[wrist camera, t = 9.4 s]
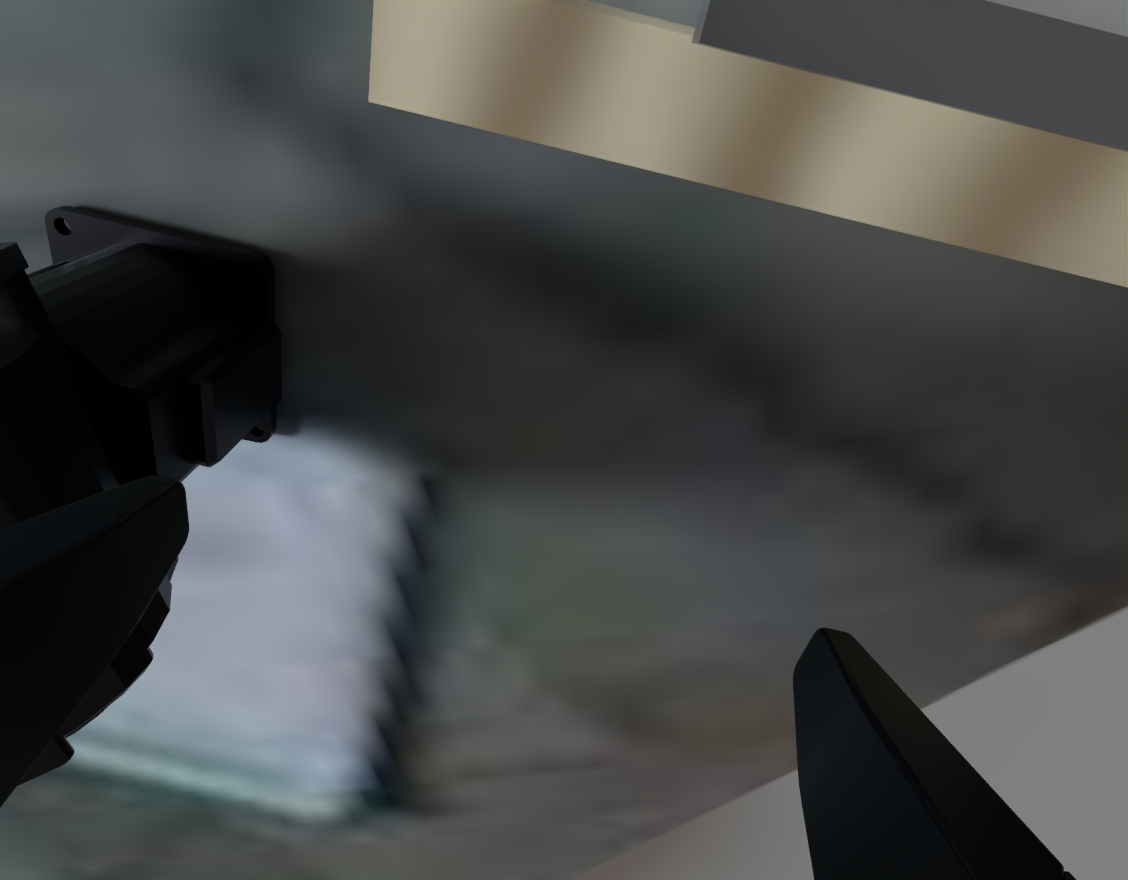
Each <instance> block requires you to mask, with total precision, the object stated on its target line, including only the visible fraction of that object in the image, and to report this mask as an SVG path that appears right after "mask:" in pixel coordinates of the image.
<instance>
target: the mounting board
mask: <svg viewBox="0 0 1128 880" xmlns="http://www.w3.org/2000/svg"><path fill="white" fill-rule="evenodd" d="M692 38H693V37H692V36H688V35H684V34H680V33H676V32H672V31H668V30H664V29H660V28H656V27H652V26H648V25H644V24H640V23H636V22H633V21H629V20H625V19H621V18H617V17H613V16H609V15H605V14H601V13H597V12H593V11H589V10H585V9H581V8H577V7H573V6H569V5H565V4H561V3H557V2H553V1H549V0H374V7H373V26H372V45H371V64H370V82H369V101H368V102H372V103H376V104H380V105H384V106H388V107H392V108H396V109H400V110H404V111H409V112H413V113H417V114H421V115H425V116H429V117H433V118H437V119H441V120H445V121H449V122H454V123H458V124H462V125H466V126H470V127H474V128H478V129H482V130H486V131H490V132H494V133H498V134H503V135H507V136H511V137H515V138H519V139H523V140H527V141H531V142H535V143H539V144H543V145H547V146H552V147H556V148H560V149H564V150H568V151H572V152H576V153H580V154H584V155H588V156H592V157H596V158H601V159H605V160H609V161H613V162H617V163H621V164H625V165H629V166H633V167H637V168H641V169H646V170H650V171H654V172H658V173H662V174H666V175H670V176H674V177H678V178H682V179H686V180H690V181H695V182H699V183H703V184H707V185H711V186H715V187H719V188H723V189H727V190H731V191H735V192H739V193H744V194H748V195H752V196H756V197H760V198H764V199H768V200H772V201H776V202H780V203H784V204H788V205H793V206H797V207H801V208H805V209H809V210H813V211H817V212H821V213H825V214H829V215H833V216H838V217H842V218H846V219H850V220H854V221H858V222H862V223H866V224H870V225H874V226H878V227H882V228H887V229H891V230H895V231H899V232H903V233H907V234H911V235H915V236H919V237H923V238H927V239H931V240H936V241H940V242H944V243H948V244H952V245H956V246H960V247H964V248H968V249H972V250H976V251H980V252H985V253H989V254H993V255H997V256H1001V257H1005V258H1009V259H1013V260H1017V261H1021V262H1025V263H1030V264H1034V265H1038V266H1042V267H1046V268H1050V269H1054V270H1058V271H1062V272H1066V273H1070V274H1074V275H1079V276H1083V277H1087V278H1091V279H1095V280H1099V281H1103V282H1107V283H1111V284H1115V285H1119V286H1123V287H1128V152H1125V151H1121V150H1117V149H1113V148H1109V147H1105V146H1101V145H1097V144H1093V143H1089V142H1085V141H1081V140H1077V139H1073V138H1069V137H1065V136H1061V135H1057V134H1053V133H1049V132H1045V131H1041V130H1037V129H1033V128H1029V127H1025V126H1021V125H1017V124H1013V123H1010V122H1006V121H1002V120H998V119H994V118H990V117H986V116H982V115H978V114H974V113H970V112H966V111H962V110H958V109H954V108H950V107H946V106H942V105H938V104H934V103H930V102H926V101H922V100H918V99H914V98H910V97H906V96H902V95H898V94H894V93H890V92H886V91H882V90H878V89H874V88H870V87H866V86H862V85H858V84H854V83H850V82H846V81H842V80H838V79H834V78H830V77H826V76H822V75H818V74H814V73H810V72H806V71H802V70H798V69H794V68H790V67H786V66H782V65H778V64H774V63H770V62H766V61H762V60H758V59H754V58H750V57H746V56H742V55H738V54H734V53H730V52H726V51H722V50H718V49H714V48H711V47H707V46H703V45H699V44H695V43H691V42H692Z"/></svg>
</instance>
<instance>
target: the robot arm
mask: <svg viewBox="0 0 1128 880" xmlns="http://www.w3.org/2000/svg"><path fill="white" fill-rule="evenodd" d="M64 219H65V220H66V221H67V222H68V223H69V224H70V226H71V231H70V230H69V229H68V228H67V227H66V226H65V223H64ZM45 224H46V229H47V234H48V240H49V245H50V250H51V255H52V261H53V265H51V266H49V267H46V268H43V269H41V270H38V271H35V272H33V273H30V274H28V275H27V274H26V272H25V270H24V269H26V268H28V267H29V266H28V264H27V262H26V260H25V258H24V256H23V254H22V252H21V250H20V248H19V246H18V245H17V243H16V242H6V243H0V808H1V806H2V805H3V804H4V802H5V801H6V800H7V798H8V797H9V796H10V794H11V793H12V792H13V790H14V789H15V788H16V786H18V785H20V784H22V783H25V782H27V781H29V780H31V779H33V778H36V777H38V776H40V775H42V774H44V773H47V772H49V771H51V770H53V769H55V768H58V767H60V766H62V765H64V764H65V763H66V762H67V761H69V760H70V759H71V757H72V756H73V754H74V749H73V747H72V746H71V745H70V743H69V742H68V741H67V739H66V738H67V737H69V736H70V735H72V734H74V733H75V732H77V731H78V730H80V729H81V728H82V727H84V726H85V725H86V724H88V723H89V722H90V721H92V720H93V719H94V718H96V717H97V716H98V715H99V714H100V713H102V712H103V711H104V710H105V709H106V708H107V707H108V706H109V705H110V704H111V703H113V702H114V701H115V700H116V699H118V698H119V697H120V696H121V695H123V694H124V693H125V692H126V691H127V690H128V689H129V687H130V686H131V685H132V684H133V683H134V682H135V681H136V680H137V679H138V678H139V677H140V676H141V675H142V674H143V673H144V672H145V670H146V669H147V668H148V666H149V665H150V663H151V661H152V660H153V653H152V651H151V649H150V648H149V646H150V645H151V643H152V642H153V640H154V638H155V637H156V635H157V633H158V631H159V629H160V627H161V626H162V624H163V622H164V620H165V618H166V616H167V614H168V613H169V611H170V602H171V590H172V585H171V583H170V580H171V577H172V575H173V572H174V569H175V567H176V564H177V562H178V555H179V553H180V551H181V550H182V548H183V546H184V545H185V543H186V540H187V537H188V533H189V520H188V511H187V501H186V492H185V488H184V486H183V484H182V483H181V482H182V481H183V480H184V479H185V478H186V477H187V476H188V475H189V474H190V473H191V472H192V471H193V470H194V469H195V468H196V467H197V466H198V465H201V466H206V467H211V466H213V465H215V464H216V463H218V462H220V461H221V460H222V459H223V458H224V457H225V456H226V455H227V454H228V453H229V452H230V451H231V450H232V449H233V448H234V447H235V446H236V445H237V443H238V442H239V441H240V440H241V439H244V440H249V441H253V442H260V443H262V442H265V441H267V440H268V439H269V438H270V437H271V436H272V435H273V434H274V433H275V431H276V404H277V403H278V402H279V401H280V400H281V397H282V384H281V331H280V330H279V328H278V326H277V325H276V324H275V307H274V269H273V264H272V263H271V261H270V259H269V258H268V257H267V256H266V255H264V254H263V253H261V252H259V251H256V250H252V249H247V248H243V247H239V246H235V245H231V244H226V243H222V242H218V241H214V240H210V239H205V238H201V237H197V236H193V235H188V234H184V233H180V232H176V231H172V230H167V229H163V228H159V227H155V226H150V225H146V224H142V223H138V222H134V221H129V220H125V219H121V218H117V217H113V216H108V215H104V214H100V213H96V212H91V211H87V210H83V209H79V208H75V207H70V206H62V207H58V208H55V209H52V210H50V211H48V212H47V214H46V216H45ZM249 263H252V264H254V265H255V266H256V267H257V268H258V270H259V276H257V275H255V274H253V273H252V271H251V270H250V268H249ZM256 424H259V425H260V426H261V427H262V428H263V430H260V429H258V428H257V427H256V426H255V425H256ZM793 692H794V710H795V728H796V745H797V763H798V776H799V787H800V794H801V801H802V808H803V814H804V820H805V826H806V832H807V838H808V844H809V850H810V856H811V862H812V868H813V874H814V880H1076V879H1075V878H1074V877H1073V876H1072V875H1071V873H1069V872H1066V871H1064V868H1063V865H1062V864H1061V863H1060V862H1059V861H1058V860H1057V858H1056V857H1055V856H1054V855H1053V854H1052V853H1051V852H1050V851H1049V850H1048V849H1047V848H1046V846H1045V845H1044V844H1043V843H1042V842H1041V841H1040V840H1039V839H1038V838H1037V837H1036V836H1035V835H1034V833H1033V832H1032V831H1031V830H1030V829H1029V828H1028V827H1027V826H1026V825H1025V824H1024V822H1023V821H1022V820H1021V819H1020V818H1019V817H1018V816H1017V815H1016V814H1015V813H1014V812H1013V810H1011V808H1010V807H1009V806H1008V805H1007V804H1006V803H1005V802H1004V801H1003V800H1002V798H1001V797H1000V796H999V795H998V794H997V793H996V792H995V791H994V790H993V789H992V788H991V787H990V786H989V784H988V783H987V782H986V781H985V780H984V779H983V778H982V777H981V776H980V774H979V773H977V771H976V770H975V769H974V768H973V767H972V766H971V765H970V764H969V763H968V761H967V760H966V759H965V758H964V757H963V756H962V755H961V754H960V753H959V752H958V751H957V750H956V748H955V747H954V746H953V745H952V744H951V743H950V742H949V741H948V740H947V739H946V737H945V736H944V735H943V734H942V733H941V732H940V731H939V730H938V729H937V728H936V727H935V725H934V724H933V723H932V722H931V721H930V720H929V719H928V718H927V717H926V716H925V715H924V713H923V712H922V711H921V710H920V709H919V708H918V707H917V706H916V705H915V704H914V703H913V701H912V700H911V699H910V698H909V697H908V696H907V695H906V694H905V693H904V692H903V691H902V689H901V688H900V687H899V686H898V685H897V684H896V683H895V682H894V681H893V680H892V679H891V677H890V676H889V675H888V674H887V673H886V672H885V671H884V670H883V669H882V668H881V667H880V666H879V664H878V663H877V662H876V661H875V660H874V659H873V658H872V657H871V656H870V655H869V654H868V652H867V651H866V650H865V649H864V648H863V647H862V646H861V645H860V644H859V643H858V642H857V640H856V639H855V638H854V637H853V636H852V635H850V634H849V633H846V632H843V631H838V630H834V629H829V628H820V629H818V630H817V631H816V632H815V633H814V635H813V636H812V638H811V640H810V641H809V643H808V645H807V647H806V648H805V650H804V652H803V653H802V655H801V657H800V658H799V660H798V662H797V664H796V666H795V669H794V674H793Z"/></svg>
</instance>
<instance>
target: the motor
mask: <svg viewBox="0 0 1128 880" xmlns="http://www.w3.org/2000/svg"><path fill="white" fill-rule="evenodd" d="M549 1H553V2H557V3H561V4H565V5H569V6H573V7H577V8H581V9H585V10H589V11H593V12H597V13H601V14H605V15H609V16H613V17H617V18H621V19H625V20H629V21H633V22H636V23H640V24H644V25H648V26H652V27H656V28H660V29H664V30H668V31H672V32H676V33H680V34H684V35H688V36H692V37H693V38H692V42H691V43H695V44H699V45H703V46H707V47H711V48H714V49H718V50H722V51H726V52H730V53H734V54H738V55H742V56H746V57H750V58H754V59H758V60H762V61H766V62H770V63H774V64H778V65H782V66H786V67H790V68H794V69H798V70H802V71H806V72H810V73H814V74H818V75H822V76H826V77H830V78H834V79H838V80H842V81H846V82H850V83H854V84H858V85H862V86H866V87H870V88H874V89H878V90H882V91H886V92H890V93H894V94H898V95H902V96H906V97H910V98H914V99H918V100H922V101H926V102H930V103H934V104H938V105H942V106H946V107H950V108H954V109H958V110H962V111H966V112H970V113H974V114H978V115H982V116H986V117H990V118H994V119H998V120H1002V121H1006V122H1010V123H1013V124H1017V125H1021V126H1025V127H1029V128H1033V129H1037V130H1041V131H1045V132H1049V133H1053V134H1057V135H1061V136H1065V137H1069V138H1073V139H1077V140H1081V141H1085V142H1089V143H1093V144H1097V145H1101V146H1105V147H1109V148H1113V149H1117V150H1121V151H1125V152H1128V0H549Z"/></svg>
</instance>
